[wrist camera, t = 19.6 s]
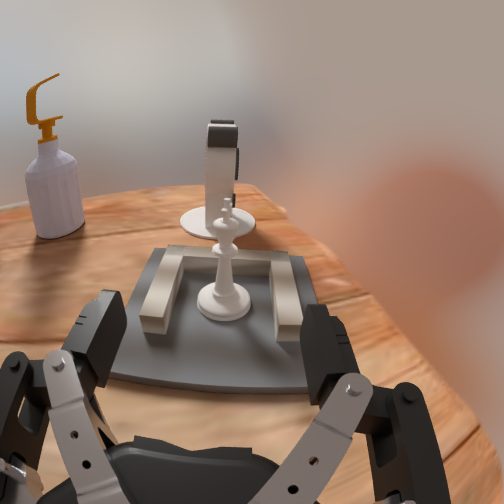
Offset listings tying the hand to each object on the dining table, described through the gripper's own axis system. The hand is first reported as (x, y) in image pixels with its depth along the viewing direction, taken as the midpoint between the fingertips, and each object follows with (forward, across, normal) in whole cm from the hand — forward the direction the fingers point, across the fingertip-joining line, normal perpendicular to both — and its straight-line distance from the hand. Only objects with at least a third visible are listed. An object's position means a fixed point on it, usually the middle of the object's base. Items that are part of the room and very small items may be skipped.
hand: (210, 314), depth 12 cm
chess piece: (+11, 0, +9) cm, 14 cm away
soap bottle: (+27, +28, +10) cm, 40 cm away
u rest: (+11, 0, +10) cm, 15 cm away
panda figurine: (+30, +2, +10) cm, 32 cm away
